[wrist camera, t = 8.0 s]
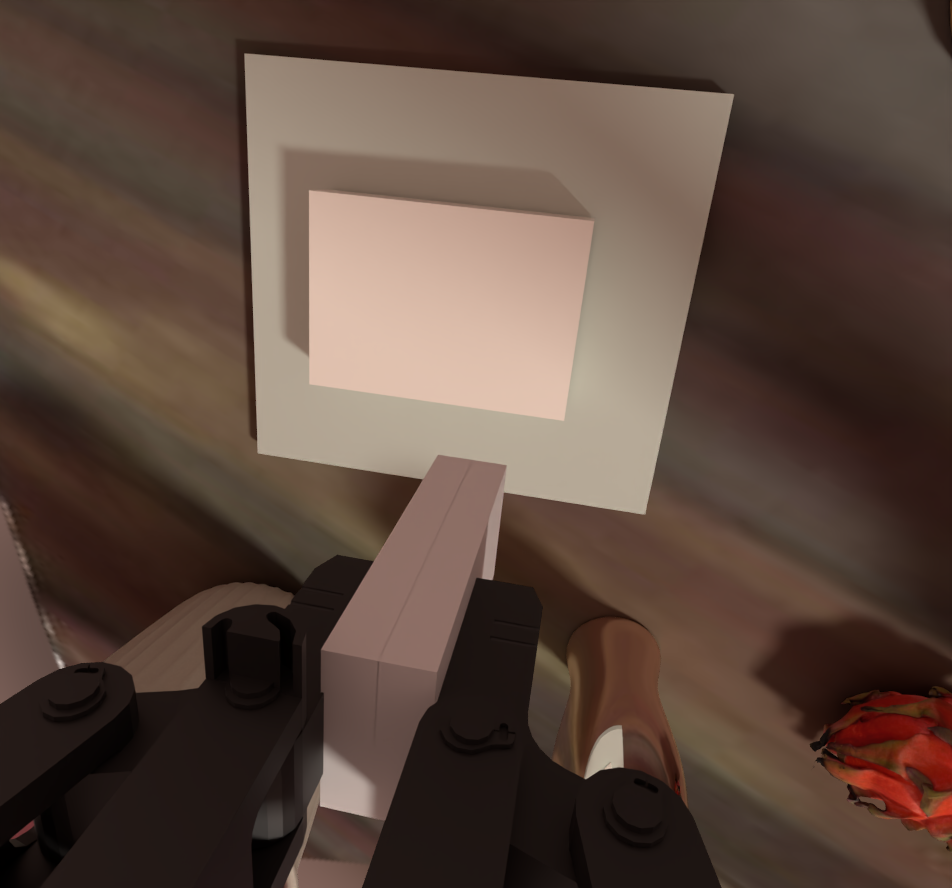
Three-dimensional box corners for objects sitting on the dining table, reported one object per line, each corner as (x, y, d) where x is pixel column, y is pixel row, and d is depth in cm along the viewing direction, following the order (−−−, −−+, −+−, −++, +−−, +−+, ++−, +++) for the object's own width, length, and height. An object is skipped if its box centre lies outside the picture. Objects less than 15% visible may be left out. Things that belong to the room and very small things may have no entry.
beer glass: (538, 643, 45) (511, 847, 32) (621, 591, 43) (632, 787, 29) (604, 712, 46) (606, 937, 33) (689, 664, 44) (730, 887, 30)
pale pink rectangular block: (594, 221, 32) (308, 190, 33) (564, 421, 35) (309, 384, 37) (594, 217, 34) (329, 189, 36) (566, 404, 38) (327, 370, 40)
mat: (730, 96, 32) (734, 94, 31) (643, 506, 40) (644, 514, 40) (253, 56, 35) (244, 53, 34) (265, 447, 43) (257, 453, 42)
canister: (268, 492, 45) (15, 733, 25) (441, 683, 48) (335, 1024, 29) (110, 615, 51) (-189, 883, 32) (273, 776, 54) (93, 1106, 35)
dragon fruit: (995, 727, 44) (796, 678, 47) (1076, 697, 37) (835, 640, 40) (1008, 877, 39) (788, 811, 43) (1102, 875, 32) (830, 796, 36)
